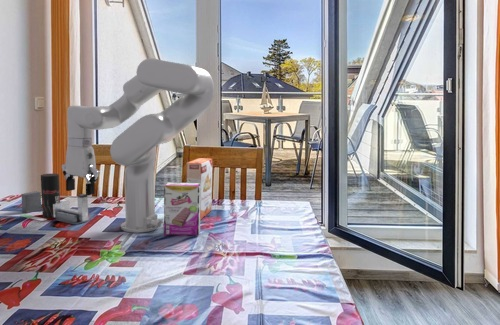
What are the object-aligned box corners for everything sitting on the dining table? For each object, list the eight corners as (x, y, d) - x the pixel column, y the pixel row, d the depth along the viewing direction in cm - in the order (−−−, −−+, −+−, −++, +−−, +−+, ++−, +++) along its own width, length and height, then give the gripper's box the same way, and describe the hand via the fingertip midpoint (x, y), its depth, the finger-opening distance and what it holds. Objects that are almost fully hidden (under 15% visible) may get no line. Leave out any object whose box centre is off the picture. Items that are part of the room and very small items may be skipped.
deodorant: (56, 217, 149) (54, 176, 146) (39, 217, 149) (37, 176, 147) (63, 213, 154) (61, 173, 152) (47, 213, 155) (45, 173, 152)
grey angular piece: (92, 218, 146) (91, 193, 145) (78, 222, 141) (77, 196, 139) (68, 213, 152) (66, 189, 150) (53, 217, 147) (52, 192, 145)
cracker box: (201, 221, 149) (201, 163, 146) (185, 219, 150) (185, 162, 147) (212, 211, 162) (213, 158, 159) (198, 210, 163) (198, 157, 160)
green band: (62, 210, 158) (62, 210, 158) (30, 218, 147) (30, 218, 147) (52, 208, 161) (52, 207, 161) (20, 216, 150) (20, 215, 150)
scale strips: (73, 212, 156) (73, 212, 156) (41, 221, 144) (41, 220, 144) (62, 210, 158) (62, 210, 158) (30, 218, 147) (30, 218, 147)
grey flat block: (41, 209, 159) (40, 191, 158) (26, 213, 154) (25, 194, 153) (37, 208, 160) (36, 191, 159) (22, 212, 155) (21, 193, 154)
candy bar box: (163, 236, 131) (163, 185, 129) (166, 231, 136) (166, 182, 134) (199, 236, 132) (199, 185, 129) (200, 231, 137) (200, 182, 134)
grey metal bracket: (90, 220, 147) (90, 212, 146) (75, 224, 141) (75, 216, 141) (71, 216, 151) (71, 208, 151) (55, 220, 146) (55, 212, 145)
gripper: (107, 144, 139) (106, 194, 142) (71, 139, 147) (72, 187, 150) (88, 146, 133) (89, 198, 135) (52, 141, 141) (53, 190, 143)
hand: (80, 192), depth 143 cm, fingers open, 9 cm apart
